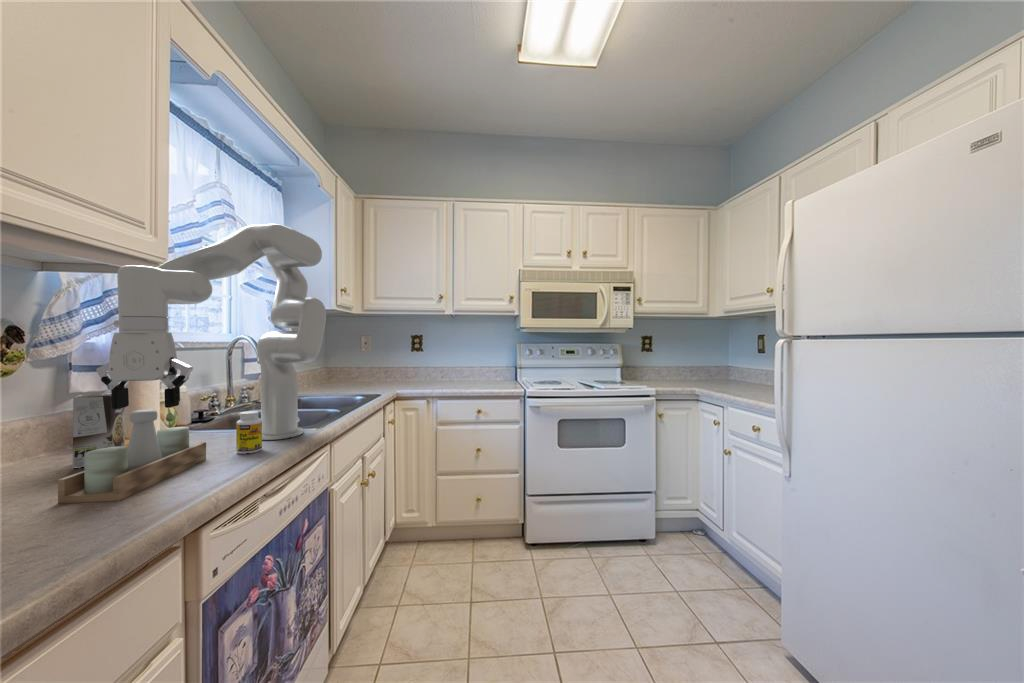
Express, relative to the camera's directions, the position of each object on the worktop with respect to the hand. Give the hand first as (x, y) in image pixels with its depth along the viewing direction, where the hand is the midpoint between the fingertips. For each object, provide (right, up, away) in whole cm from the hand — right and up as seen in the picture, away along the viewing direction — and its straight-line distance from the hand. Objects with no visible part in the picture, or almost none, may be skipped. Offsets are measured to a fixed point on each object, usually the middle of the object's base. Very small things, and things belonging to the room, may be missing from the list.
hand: (146, 407), depth 81 cm
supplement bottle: (+9, -15, +19) cm, 26 cm away
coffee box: (-20, -15, +10) cm, 27 cm away
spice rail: (0, -15, -1) cm, 15 cm away
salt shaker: (0, -14, 0) cm, 14 cm away
